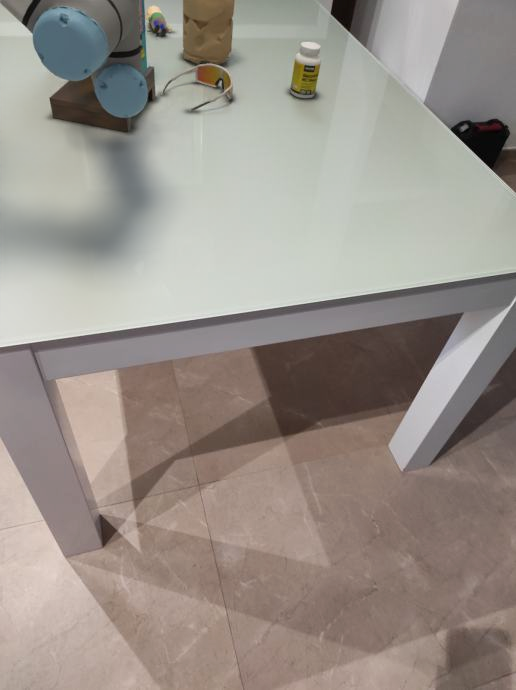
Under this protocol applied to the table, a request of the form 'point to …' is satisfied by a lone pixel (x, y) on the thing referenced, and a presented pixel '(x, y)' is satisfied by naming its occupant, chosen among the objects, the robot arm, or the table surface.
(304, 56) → the pill bottle
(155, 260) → the table surface
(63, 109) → the shelf
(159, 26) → the toy figurine
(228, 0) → the container
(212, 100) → the sunglasses
